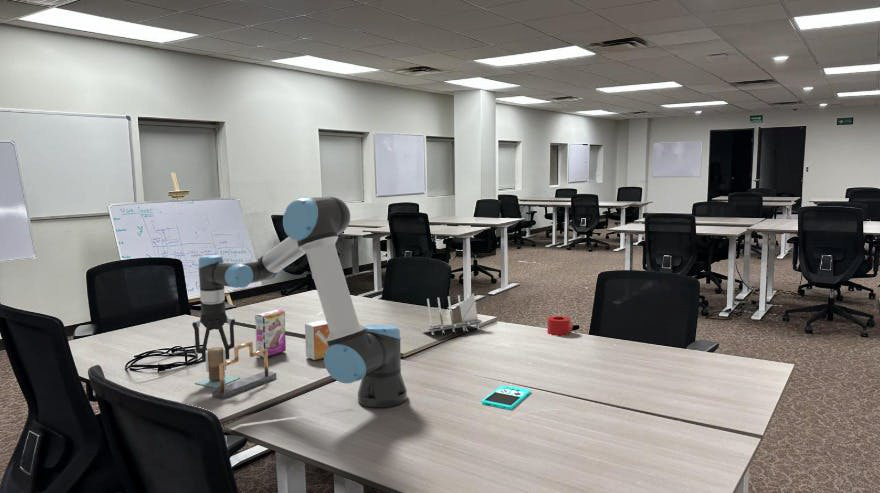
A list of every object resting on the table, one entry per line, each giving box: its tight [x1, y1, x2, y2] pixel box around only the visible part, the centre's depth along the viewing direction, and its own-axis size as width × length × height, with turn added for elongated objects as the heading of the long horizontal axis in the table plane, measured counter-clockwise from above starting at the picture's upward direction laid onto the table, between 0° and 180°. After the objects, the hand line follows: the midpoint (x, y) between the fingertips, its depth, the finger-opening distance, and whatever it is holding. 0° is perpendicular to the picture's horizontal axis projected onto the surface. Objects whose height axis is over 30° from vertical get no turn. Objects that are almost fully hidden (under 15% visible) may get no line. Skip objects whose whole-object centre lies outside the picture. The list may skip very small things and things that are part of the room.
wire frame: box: [211, 341, 277, 400], centre depth 192 cm, size 5×22×15 cm, turn 149°
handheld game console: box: [480, 385, 531, 411], centre depth 181 cm, size 10×16×1 cm, turn 150°
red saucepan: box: [546, 315, 574, 337], centre depth 258 cm, size 18×9×7 cm, turn 145°
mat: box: [194, 374, 240, 389], centre depth 198 cm, size 10×10×1 cm
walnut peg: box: [206, 346, 226, 381], centre depth 198 cm, size 5×5×10 cm
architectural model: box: [421, 293, 483, 336], centre depth 258 cm, size 17×25×18 cm
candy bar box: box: [254, 309, 287, 359], centre depth 228 cm, size 11×5×16 cm, turn 149°
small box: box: [304, 319, 330, 361], centre depth 224 cm, size 8×6×13 cm
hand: (216, 369), depth 198 cm, fingers closed on walnut peg, 5 cm apart
